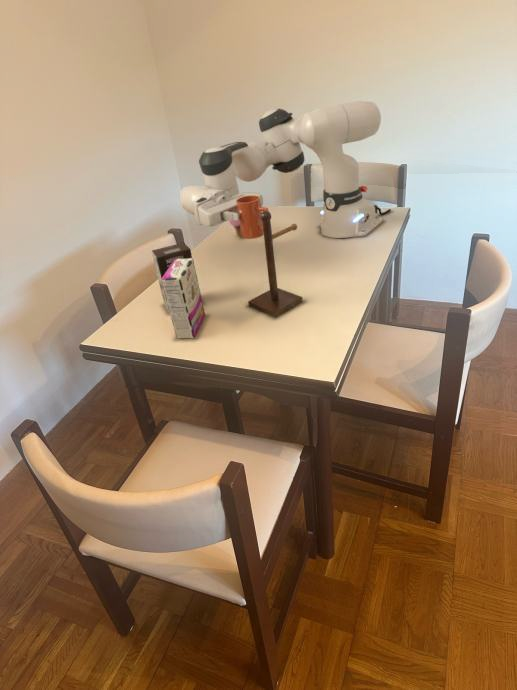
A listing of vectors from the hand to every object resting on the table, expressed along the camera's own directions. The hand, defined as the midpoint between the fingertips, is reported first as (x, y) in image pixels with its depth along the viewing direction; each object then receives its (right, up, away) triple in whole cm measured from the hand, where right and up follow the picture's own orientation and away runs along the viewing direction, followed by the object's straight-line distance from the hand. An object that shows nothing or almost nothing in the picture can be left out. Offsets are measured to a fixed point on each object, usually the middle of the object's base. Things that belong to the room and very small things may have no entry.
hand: (249, 212), depth 132 cm
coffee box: (-18, -25, 0) cm, 31 cm away
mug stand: (+9, -25, -5) cm, 26 cm away
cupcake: (-3, +2, +39) cm, 39 cm away
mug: (+2, -6, +2) cm, 7 cm away
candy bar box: (-15, -32, -11) cm, 37 cm away
